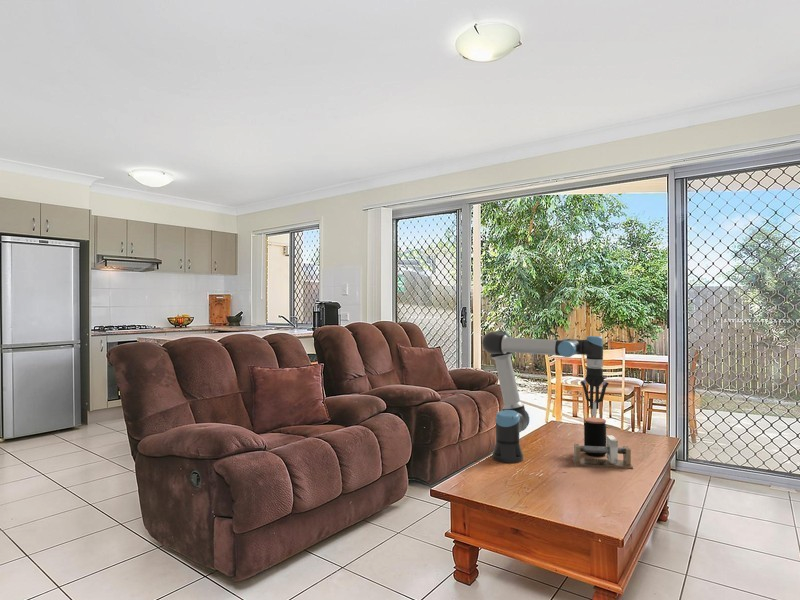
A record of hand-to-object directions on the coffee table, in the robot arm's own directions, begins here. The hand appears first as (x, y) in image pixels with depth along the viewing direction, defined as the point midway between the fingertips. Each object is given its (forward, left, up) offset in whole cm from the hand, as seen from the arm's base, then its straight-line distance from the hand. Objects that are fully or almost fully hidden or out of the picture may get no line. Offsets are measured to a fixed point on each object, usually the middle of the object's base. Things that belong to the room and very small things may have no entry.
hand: (594, 415), depth 249 cm
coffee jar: (+3, +17, -24) cm, 29 cm away
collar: (+8, 0, -22) cm, 23 cm away
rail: (+3, 0, -24) cm, 24 cm away
